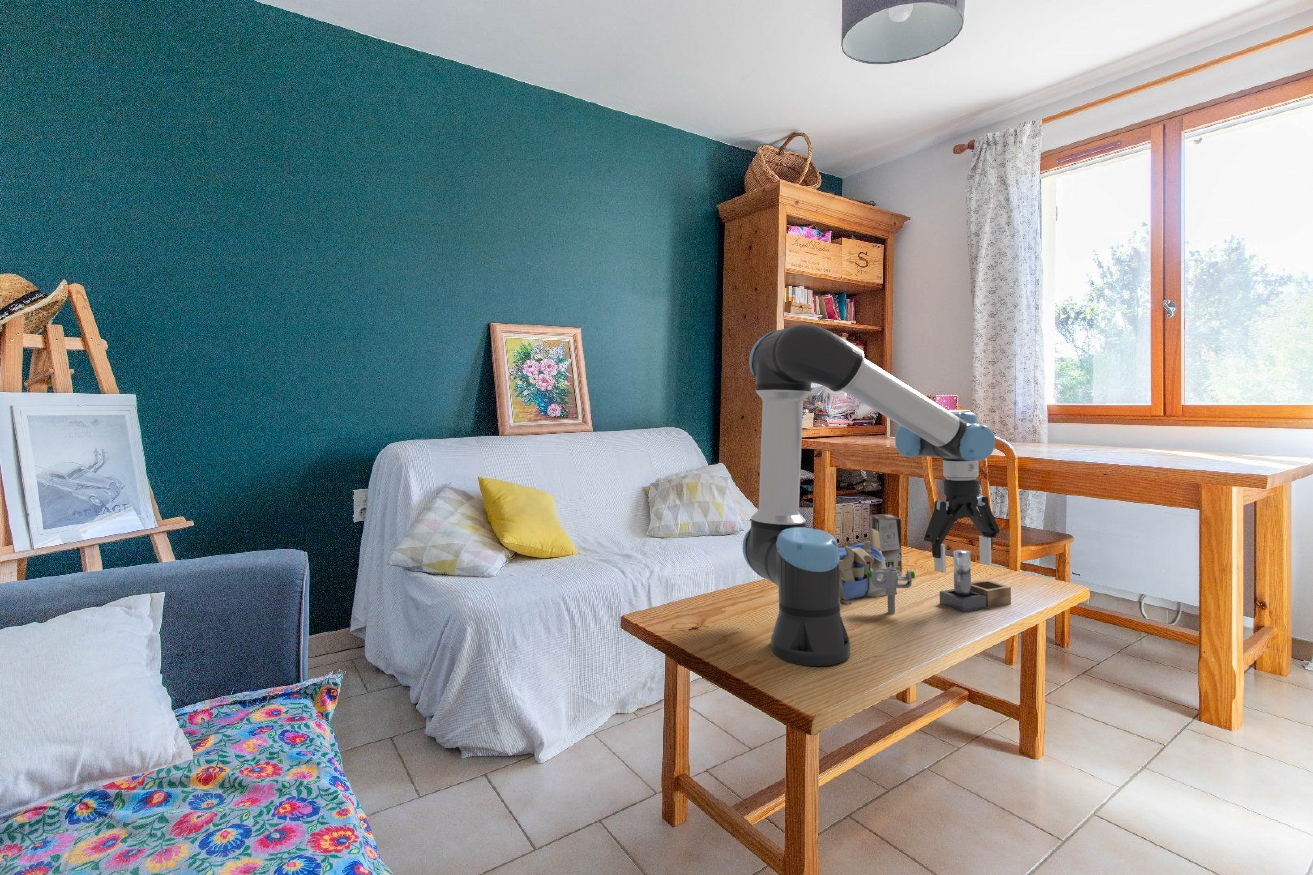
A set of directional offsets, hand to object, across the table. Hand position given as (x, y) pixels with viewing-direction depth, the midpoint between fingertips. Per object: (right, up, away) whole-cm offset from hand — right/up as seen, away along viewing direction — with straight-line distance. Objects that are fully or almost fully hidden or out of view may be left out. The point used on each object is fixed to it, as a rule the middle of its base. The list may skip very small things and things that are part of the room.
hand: (963, 567), depth 149 cm
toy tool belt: (-24, -10, +12) cm, 29 cm away
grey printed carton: (-6, -8, +32) cm, 34 cm away
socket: (0, -9, 0) cm, 9 cm away
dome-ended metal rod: (0, -9, 0) cm, 9 cm away
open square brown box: (+7, -9, +3) cm, 12 cm away
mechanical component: (-18, -10, -3) cm, 21 cm away
